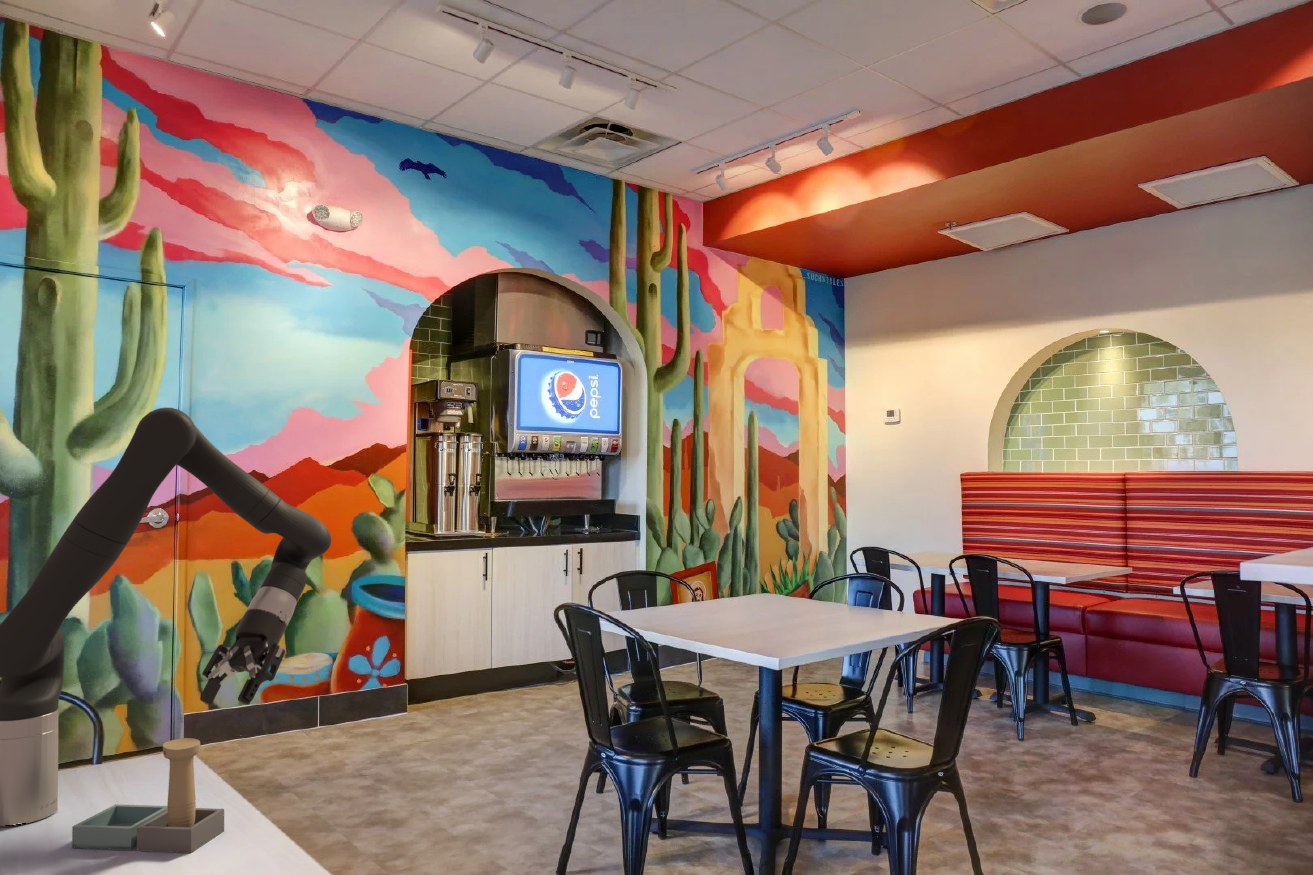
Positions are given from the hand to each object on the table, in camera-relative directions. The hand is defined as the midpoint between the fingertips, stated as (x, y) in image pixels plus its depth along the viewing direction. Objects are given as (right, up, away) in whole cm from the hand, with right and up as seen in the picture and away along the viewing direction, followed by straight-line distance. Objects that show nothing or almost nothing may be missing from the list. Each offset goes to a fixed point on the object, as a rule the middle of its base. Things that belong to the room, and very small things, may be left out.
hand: (223, 702), depth 146 cm
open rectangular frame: (-1, -18, -11) cm, 21 cm away
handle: (-1, -19, -11) cm, 21 cm away
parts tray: (-12, -19, -9) cm, 24 cm away
